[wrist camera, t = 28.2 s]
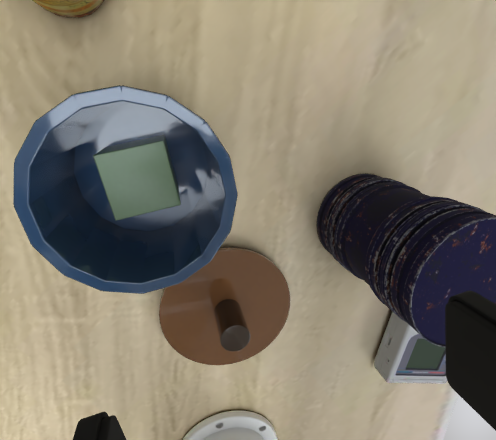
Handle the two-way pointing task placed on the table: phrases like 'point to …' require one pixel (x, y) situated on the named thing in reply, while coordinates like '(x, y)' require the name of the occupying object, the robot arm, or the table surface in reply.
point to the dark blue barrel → (410, 247)
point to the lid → (226, 308)
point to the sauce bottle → (70, 7)
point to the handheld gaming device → (409, 356)
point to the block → (138, 177)
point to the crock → (96, 202)
